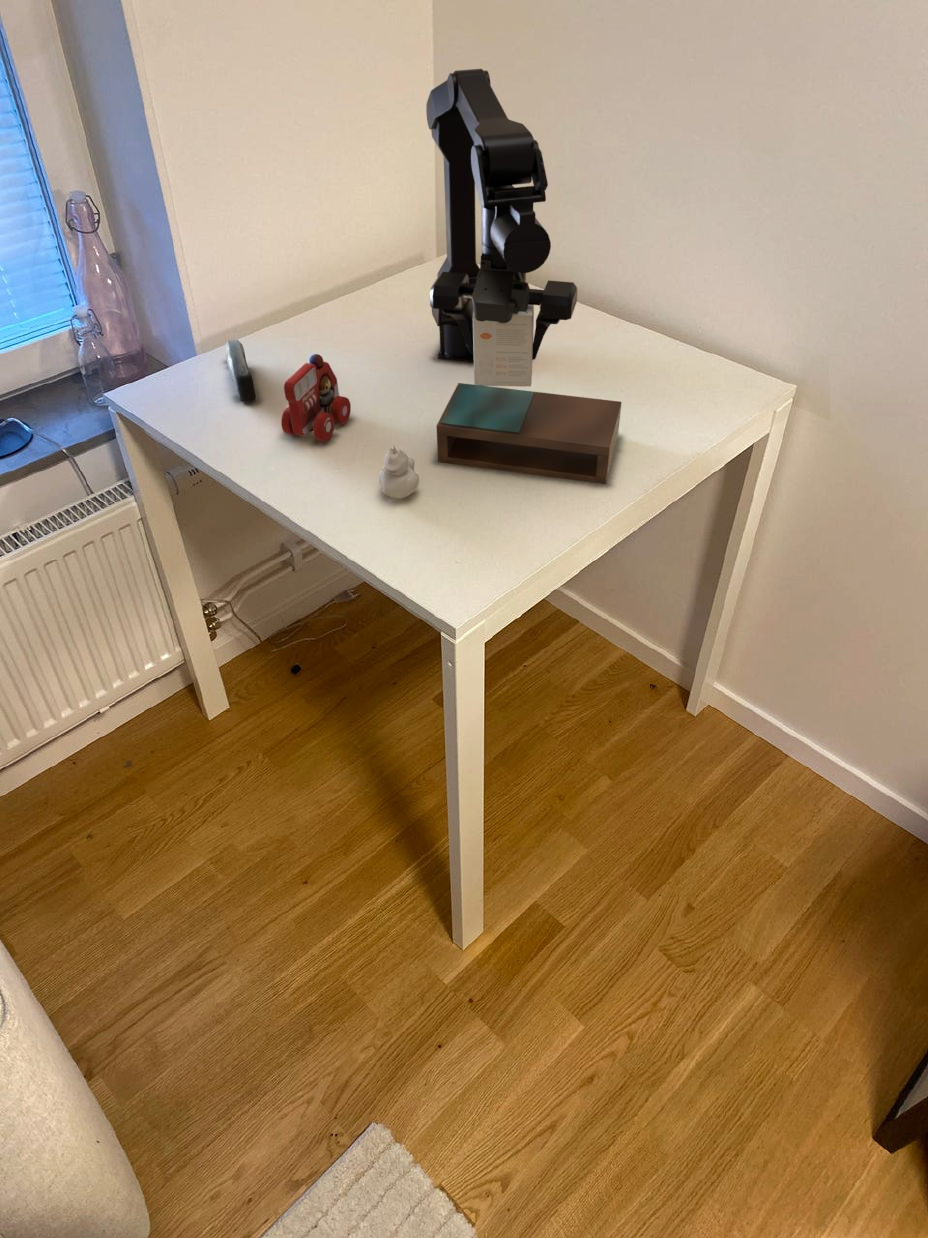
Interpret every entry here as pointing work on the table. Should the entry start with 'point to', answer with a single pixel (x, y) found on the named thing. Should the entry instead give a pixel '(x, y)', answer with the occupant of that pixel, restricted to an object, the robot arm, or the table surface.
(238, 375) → the mobile phone
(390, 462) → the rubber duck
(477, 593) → the table surface
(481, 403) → the shelf
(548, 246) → the robot arm
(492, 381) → the small box
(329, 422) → the toy fire truck
